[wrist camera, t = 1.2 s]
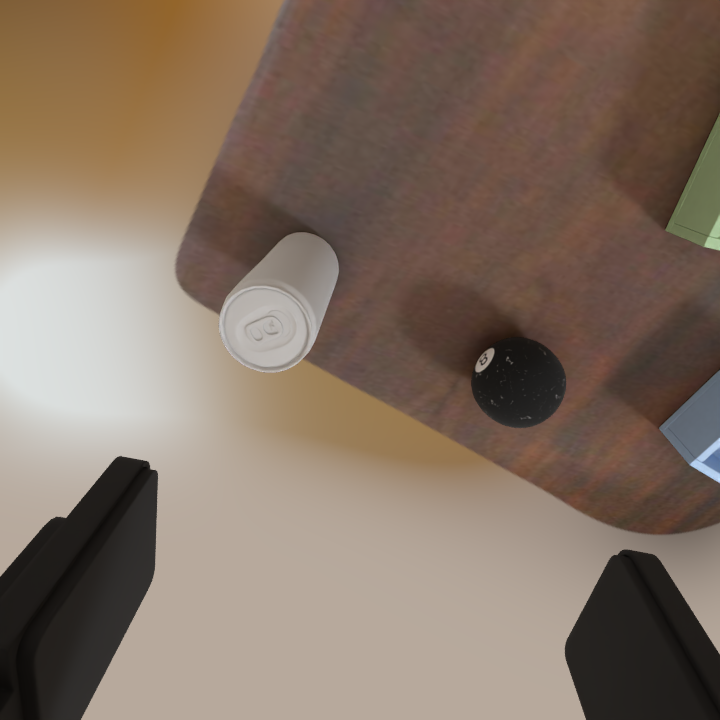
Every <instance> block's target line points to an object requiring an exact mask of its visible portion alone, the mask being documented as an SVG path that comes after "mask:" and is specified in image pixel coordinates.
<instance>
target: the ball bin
mask: <svg viewBox="0 0 720 720" xmlns="http://www.w3.org/2000/svg"><path fill="white" fill-rule="evenodd" d="M665 230H666V231H668V232H670V233H672V234H674V235H677V236H679V237H682V238H684V239H686V240H689V241H691V242H693V243H696V244H698V245H700V246H703V247H706V248H711V249H715V250H720V114H719V116H718V118H717V120H716V122H715V124H714V126H713V129H712V131H711V133H710V135H709V137H708V139H707V141H706V144H705V146H704V148H703V150H702V152H701V154H700V156H699V159H698V161H697V163H696V165H695V167H694V169H693V171H692V174H691V176H690V178H689V180H688V182H687V184H686V186H685V189H684V191H683V193H682V195H681V197H680V199H679V201H678V204H677V206H676V208H675V210H674V212H673V214H672V216H671V219H670V221H669V223H668V225H667V227H666V229H665Z"/></svg>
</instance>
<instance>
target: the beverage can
mask: <svg viewBox="0 0 720 720" xmlns="http://www.w3.org/2000/svg"><path fill="white" fill-rule="evenodd" d="M338 273H339V266H338V260H337V257H336V254H335V252H334V251H333V249H332V248H331V246H330V245H329V244H328V243H327V242H326V241H325V240H324V239H322V238H320V237H318V236H316V235H315V234H311V233H306V232H296V233H293V234H290V235H287V236H286V237H284V238H283V239H282V240H281V241H279V242H278V244H277V245H276V246H275V247H274V248H273V249H272V250H271V251H270V252H269V253H268V254H267V255H266V256H265V257H264V258H263V259H262V260H261V261H260V262H259V263H258V264H257V265H256V266H255V267H254V268H253V269H252V270H251V271H250V272H249V273H248V274H247V275H246V276H245V277H244V278H243V279H242V280H241V281H240V282H239V284H238V285H237V286H236V287H235V288H234V289H233V290H232V291H231V292H230V294H229V295H228V296H227V297H226V300H225V302H224V304H223V307H222V310H221V313H220V318H219V330H220V336H221V339H222V341H223V343H224V346H225V348H226V349H227V350H228V352H229V353H230V354H231V355H232V357H234V358H235V359H236V360H237V361H239V362H240V363H241V364H242V365H244V366H247V367H249V368H251V369H253V370H257V371H261V372H279V371H283V370H287V369H289V368H291V367H293V366H294V365H296V364H297V363H299V362H300V361H301V360H302V358H303V357H304V356H305V355H306V354H307V353H308V352H309V351H310V349H311V347H312V345H313V344H314V342H315V339H316V337H317V334H318V331H319V328H320V326H321V323H322V320H323V317H324V315H325V312H326V309H327V306H328V304H329V301H330V298H331V295H332V293H333V290H334V287H335V284H336V282H337V278H338Z"/></svg>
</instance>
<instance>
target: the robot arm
mask: <svg viewBox="0 0 720 720" xmlns="http://www.w3.org/2000/svg"><path fill="white" fill-rule="evenodd" d="M157 486H158V473H157V471H156V470H151V469H150V465H149V462H147V461H143V460H137V459H132V458H127V457H122V456H119V457H117V458H116V459H115V460H114V461H113V462H112V463H111V464H110V465H109V467H108V468H107V469H106V470H105V472H104V473H103V474H102V475H101V476H100V478H99V479H98V480H97V481H96V482H95V484H94V485H93V486H92V487H91V489H90V490H89V491H88V492H87V493H86V495H85V496H84V497H83V498H82V499H81V501H80V502H79V503H78V504H77V506H76V507H75V508H74V509H73V510H72V512H71V513H70V514H69V515H68V517H67V518H63V517H55V518H53V519H51V520H50V521H49V522H48V523H47V524H46V525H45V526H44V527H43V528H42V529H41V530H40V531H39V533H38V534H37V535H36V536H35V537H34V538H33V540H32V541H31V542H30V543H29V544H28V545H27V546H26V548H25V549H24V550H23V551H22V552H21V553H20V555H19V556H18V557H17V558H16V559H15V560H14V562H13V563H12V564H11V565H10V566H9V567H8V568H7V570H6V571H5V572H4V573H3V574H2V576H1V577H0V720H81V718H82V716H83V714H84V712H85V710H86V708H87V707H88V705H89V703H90V701H91V699H92V697H93V695H94V693H95V691H96V689H97V687H98V685H99V683H100V681H101V679H102V678H103V676H104V674H105V672H106V670H107V668H108V666H109V664H110V662H111V660H112V658H113V656H114V654H115V653H116V651H117V649H118V647H119V645H120V643H121V641H122V639H123V637H124V635H125V633H126V631H127V629H128V627H129V625H130V623H131V622H132V620H133V618H134V616H135V614H136V612H137V610H138V608H139V606H140V604H141V602H142V600H143V598H144V596H145V595H146V592H147V591H148V588H149V587H150V584H151V582H152V579H153V575H154V570H155V549H156V518H157V516H156V515H157ZM565 657H566V661H567V664H568V667H569V670H570V673H571V676H572V679H573V682H574V685H575V688H576V691H577V694H578V697H579V700H580V703H581V706H582V709H583V712H584V715H585V718H586V720H720V654H719V653H718V651H717V650H716V648H715V647H714V645H713V643H712V642H711V640H710V639H709V637H708V635H707V634H706V632H705V631H704V629H703V627H702V626H701V624H700V623H699V621H698V620H697V618H696V616H695V615H694V613H693V612H692V610H691V609H690V607H689V605H688V604H687V602H686V601H685V599H684V598H683V596H682V594H681V593H680V591H679V590H678V588H677V587H676V585H675V583H674V582H673V580H672V579H671V577H670V576H669V574H668V572H667V571H666V569H665V568H664V566H663V565H662V563H661V561H660V560H659V559H658V558H657V557H656V556H655V555H653V554H648V553H643V552H637V551H632V550H622V551H620V553H619V554H618V555H614V556H612V557H611V558H610V560H609V562H608V564H607V565H606V567H605V569H604V571H603V573H602V575H601V577H600V578H599V580H598V582H597V584H596V586H595V588H594V590H593V592H592V594H591V596H590V597H589V599H588V601H587V603H586V605H585V607H584V609H583V611H582V612H581V614H580V616H579V618H578V620H577V622H576V624H575V626H574V627H573V629H572V631H571V633H570V635H569V637H568V639H567V641H566V645H565Z"/></svg>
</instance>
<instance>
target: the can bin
mask: <svg viewBox="0 0 720 720" xmlns="http://www.w3.org/2000/svg"><path fill="white" fill-rule="evenodd" d="M659 429H660V431H661V432H662V433H663V434H664V435H665V437H666V438H667V439H668V440H669V441H670V442H671V444H672V445H673V446H674V447H675V448H676V450H677V451H678V452H679V453H680V454H681V455H682V457H683V458H684V459H685V460H686V461H687V463H688V464H689V465H691V466H692V467H694V468H696V469H697V470H699V471H701V472H702V473H704V474H706V475H707V476H709V477H710V478H712V479H714V480H715V481H717V482H719V483H720V370H719V371H718V372H717V373H716V374H715V375H714V376H712V377H711V378H710V379H709V380H708V381H707V382H706V383H705V384H704V385H703V386H702V387H701V388H700V389H699V390H698V391H697V392H696V393H695V394H694V395H693V396H692V397H691V398H689V399H688V400H687V401H686V402H685V403H684V404H683V405H682V406H681V407H680V408H679V409H678V410H677V411H676V412H675V413H674V414H673V415H672V416H671V417H670V418H669V419H667V420H666V421H665V422H664V423H663V424H662V425H661V426H660V427H659Z"/></svg>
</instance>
